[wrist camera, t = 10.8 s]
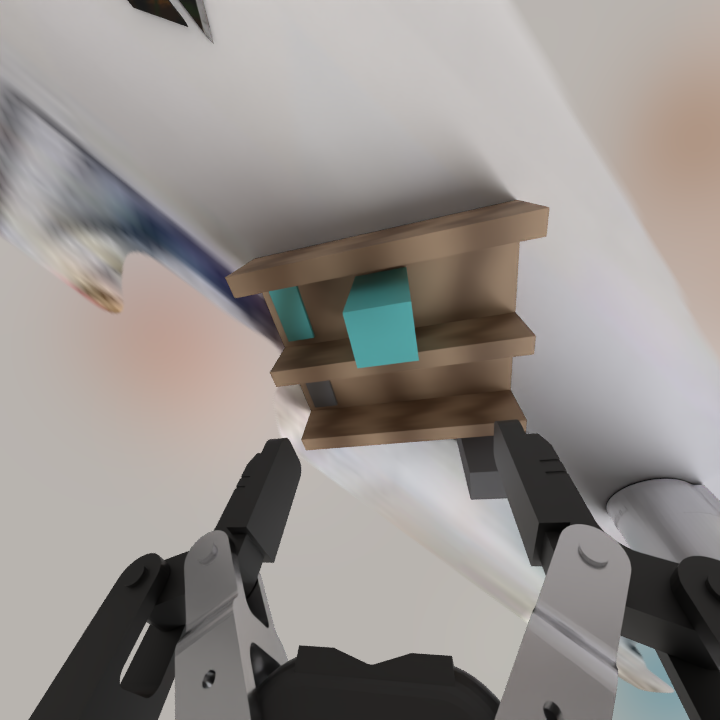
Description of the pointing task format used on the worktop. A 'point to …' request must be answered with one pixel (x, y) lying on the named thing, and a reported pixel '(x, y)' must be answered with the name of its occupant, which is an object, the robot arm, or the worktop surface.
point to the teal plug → (381, 319)
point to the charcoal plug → (481, 468)
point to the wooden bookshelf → (431, 321)
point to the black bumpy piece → (159, 5)
